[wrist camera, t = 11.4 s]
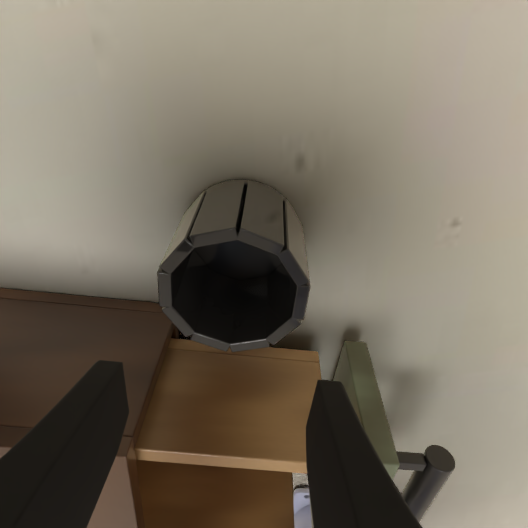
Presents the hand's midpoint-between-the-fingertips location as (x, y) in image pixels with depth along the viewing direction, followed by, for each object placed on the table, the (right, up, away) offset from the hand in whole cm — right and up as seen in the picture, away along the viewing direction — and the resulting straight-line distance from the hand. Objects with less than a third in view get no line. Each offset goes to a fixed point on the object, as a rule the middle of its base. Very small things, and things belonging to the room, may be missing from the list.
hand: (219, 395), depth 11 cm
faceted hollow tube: (0, +5, +8) cm, 9 cm away
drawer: (+2, -5, +13) cm, 15 cm away
